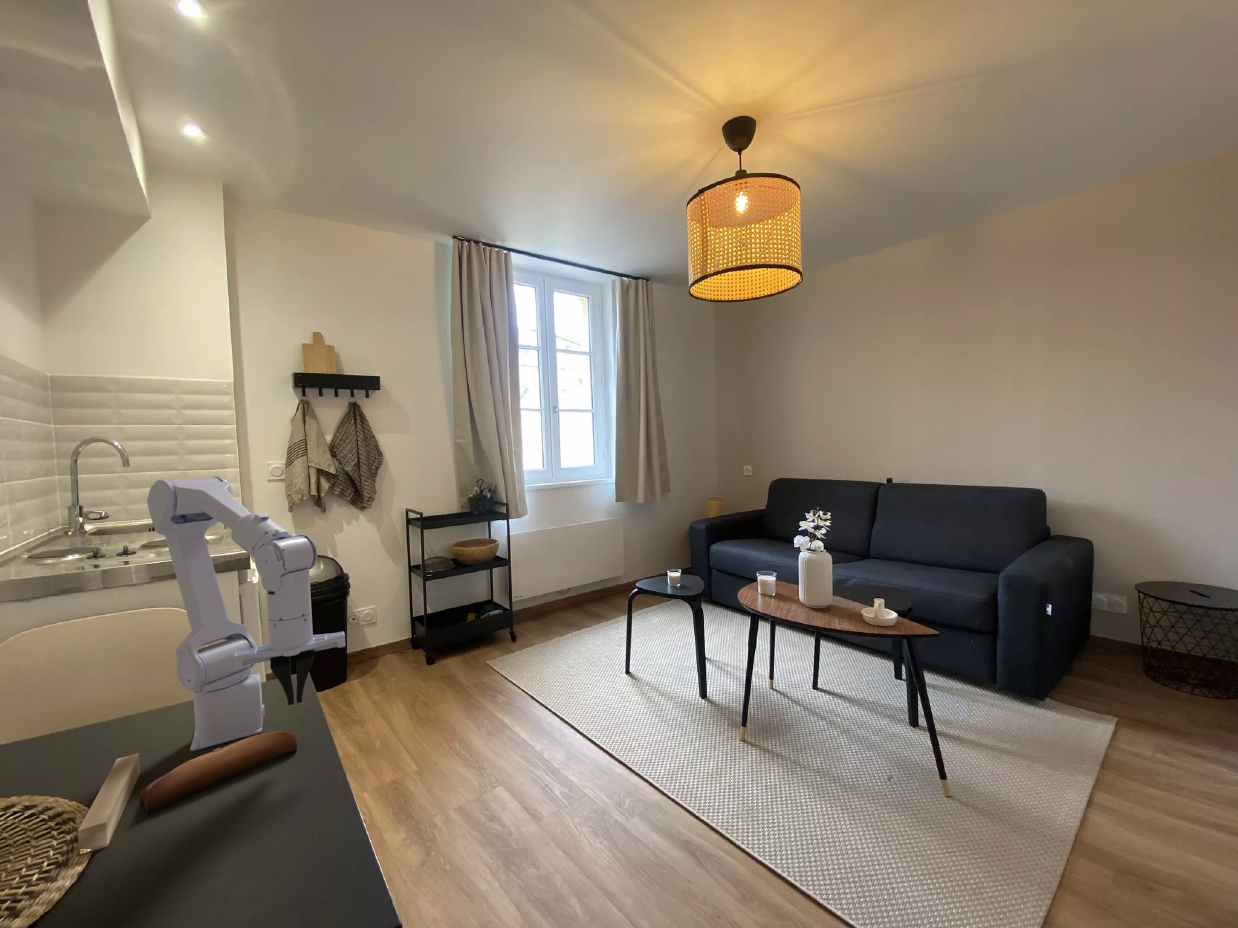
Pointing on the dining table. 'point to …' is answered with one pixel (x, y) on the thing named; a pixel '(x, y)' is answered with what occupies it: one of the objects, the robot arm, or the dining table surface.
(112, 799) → the bar
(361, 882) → the dining table surface
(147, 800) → the sunglasses case
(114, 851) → the dining table surface
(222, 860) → the dining table surface
